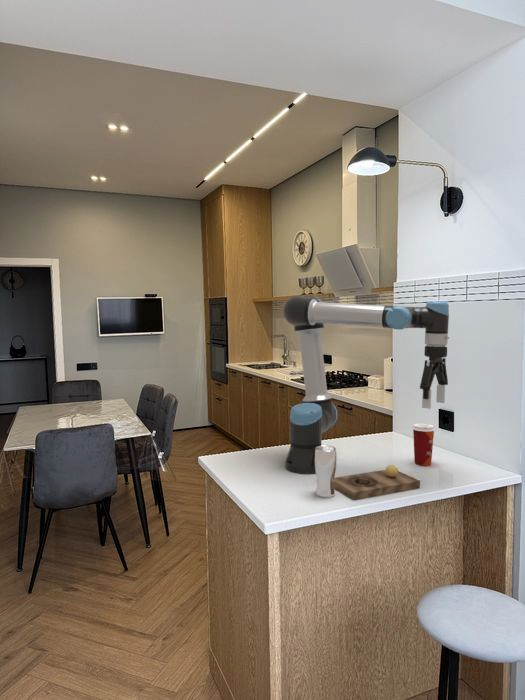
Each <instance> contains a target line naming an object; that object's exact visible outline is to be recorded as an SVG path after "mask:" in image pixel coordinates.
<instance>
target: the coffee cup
mask: <svg viewBox="0 0 525 700" xmlns="http://www.w3.org/2000/svg"><path fill="white" fill-rule="evenodd" d="M412 430H413V455H414V464H415V465H417V466H419V467H430V466H431V465H432V461H433V460H432V458H433V446H434V434H435V431H436V428H435V426H434V425H433V424H430V423H423V422H420V423H419V422H418V423H414V424H413V426H412Z"/></svg>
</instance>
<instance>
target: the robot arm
mask: <svg viewBox="0 0 525 700" xmlns="http://www.w3.org/2000/svg"><path fill="white" fill-rule="evenodd" d="M449 306H450V305H449V303H448V302H447V301H427V302H426V305H425V306H420V307H419V306H402V305H400V306H399V305H394V306H393V305H380V304H379V305H378V304H377V305H376V304H364V303H363V304H360V303H345V302H344V303H343V302H324V301H322V300H321V299H319V298H317V297H315V296H313V295H294V296H291V297H289V298H288V299H287V300H286V301H285V303H284V305H283V308H282V313H283V317H284V319H285V320H286V322H287V323H289V324H290V325H292V326H293V327H294V328H293V329H294V333H295V334H297V335H298V336H299V337H298V339H299V346H300V347H299V348H300V354H301V365H302V372H303V382H304V389H305V396H304V397H303V398H302V403H298V404H295V405H294V406H292V407H291V408H290V415H289V420H290V421H289V423H290V425H289V428H290V429H289V433H290V435H289V436H290V437H289V438H290V439H289V440H290V441H289V442H290V443H289V444H290V445H289V450H288V452H287V455H286V459H285V469H286V468H287V469H286V470H288V471H289V470H290V471H289V472H292V473H297V474H309V475H310V474H316V471H315V448H316V447H317V446H322V442H323V441H322V435H323V433H325V432H327V431H329V430H330V429H332V428H333V427H334V425H335V424H336V422H337V420H338V410H337V407H336V406H335V405H334V403H333V398H332V397H333V396H331V395H330V394H329V393H328V386H327V379H326V370H325V369H326V368H325V360H324V353H323V352H324V351H323V344H322V335H321V334H322V332H323V330H324V329H325V327H324V324H330V325H340V326H341V325H342V326H343V325H344V326H357V327H358V326H359V327H369V328H371V327H372V328H383V329H384V328H385V329H394V330H400V331H401V330H404V329H425V331H424V344H425V346H424V351H423V353H424V356H425V357H428V359H427V360H426V359H425V360H424V366H423V370H422V371H423V372H422V377H421V380H420V385H419V389H420V390H422V396H421V397H422V400H421V408H422V409H427V410H428V409H430V410H431V407H432V389H431V388H432V385H433V382H434V378H435V377H436V380H437V381H436V382H437V384H436V403H438V404H439V403H441V404H445V401H446V400H445V399H446V386H448V385H449V381H448V380H449V379H448V373H447V366H446V361H447V360H446V358H447V356H448V347H447V345H448V340H450V337H449V323H450V322H449V318H450V313H449V311H450V309H449Z"/></svg>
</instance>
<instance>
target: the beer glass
mask: <svg viewBox="0 0 525 700" xmlns="http://www.w3.org/2000/svg"><path fill="white" fill-rule="evenodd" d="M337 460H338V459H337V449H336V447H335V446H333V445H325V444H324V445H323V444H322V445H321V446H317V447H316V448H315V471H316V473H315V477H316V489H315V495H316V496H317V497H320V498H325V499H327V498H332V497H334V496H336V495H335V494H336V492H335V489H334V478H336V477H335V476H336V470H337Z"/></svg>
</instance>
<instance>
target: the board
mask: <svg viewBox="0 0 525 700" xmlns="http://www.w3.org/2000/svg"><path fill="white" fill-rule="evenodd" d="M420 488H421V480H419V479H418V478H415V477H412V476H410V475H408V474H406V473H404V472H402V471H399V470H398V474H397V475H396V476H395V477H390V476H388V475H387V473H386V469H381V470H375V471H374V470H373V471H370V472H369V471H368V472H362V473H356V474H351V475H344V476H339V477H337V476H336V477H334V490H336V491H337V492H339V493H341V494H343V495H345V496H346V497H347V498H350V499H351V500H353V501H357V500H362V499H363V500H364V499H368V498H374V497H380V496H386V495H390V494H396V493H401V492H406V491H412V490H418V489H420Z"/></svg>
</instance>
